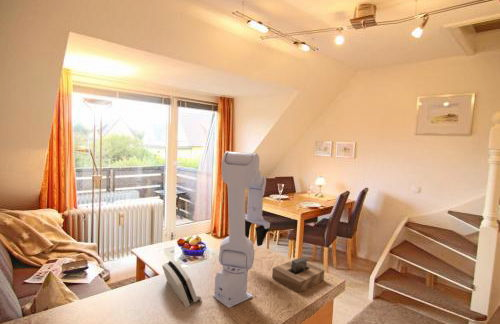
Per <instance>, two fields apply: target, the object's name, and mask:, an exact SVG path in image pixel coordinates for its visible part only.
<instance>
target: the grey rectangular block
mask: <svg viewBox="0 0 500 324" xmlns="http://www.w3.org/2000/svg"><path fill="white" fill-rule="evenodd" d="M307 259H308V258H306V257H305V256H301V257H299V258H296V259H293V261H292V260H291V261H292V266H291V273H293V274H295V275H297V274H299V273H301V272H303V271H305V270H306V264H307V263H308V262H307V261H308V260H307Z"/></svg>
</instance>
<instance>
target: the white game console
mask: <svg viewBox="0 0 500 324" xmlns="http://www.w3.org/2000/svg"><path fill="white" fill-rule="evenodd" d="M161 267H162V270H163V273H164V276H165V279H166V281H167V283H168V284H169V286H170V287H171V289H172V290H173V291H174V292H175V294H176V296H177V297H178V298H179V299H180V301H181V302H182V304H184V306H185V308H187V307H190V306H191V305H190V304H192V303H196V302H197V301H199V303H203V300H202V297H201V295H200V294H199V293H198V292H197V291H196V290H195V288H194V286H193V283H192V281H191V279H190V277H189V276H188V274H187V272H186V271H185V269H184V268H183V267H182V265H181V264H179V263H178V262H177V261H176V260H175V259H171V260H170V259H169V261H168V262H165V263H163V264H162V266H161Z"/></svg>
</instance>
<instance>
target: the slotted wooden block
mask: <svg viewBox="0 0 500 324" xmlns="http://www.w3.org/2000/svg"><path fill="white" fill-rule="evenodd" d="M293 260H294V259H293ZM293 260H290V261H287V262H284V263H281V264H280V265H277V266H275V267H272V273H271V274H272V275H271V278H272V279H274V280H275V281H278V282H279V283H281V284H283V285H284V286H287V287H288V288H290V289H292V290H294V291H296V292H297V293H302V292H303V291H306V290H307V289H309V288H311V287H314V286H315V285H317V284H319V283H321V282H323V281H324V279H325V269H322V268H320V267H318V266H316V265H313V264H311V263H309V262H307V264H306V270H305V271H303V272H301V273H299V274H297V275H295V274H293V273H291V266H292V261H293Z"/></svg>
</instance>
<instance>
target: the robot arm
mask: <svg viewBox="0 0 500 324" xmlns="http://www.w3.org/2000/svg"><path fill="white" fill-rule="evenodd" d="M259 168H260V156H259V154H258V153H257V152H252V153H251V152H244V151H243V152H241V151H240V152H239V151H229V150H226V151H225V152H224V154H223V155H222V160H221V178H222V182H223V183H224V184H226V187H227V204H228V205H227V206H228V207H227V208H228V236H226V237H225V238H223V239H222V241H221V243H220V246H219V254H218V262H219V264H220V266H222V269H221V270H220V271H219V272H217V273H216V275H215V279H214V293H213V294H212V297H214V298H215V299H216V300H218V302H220V303H221V304H223V305H224V306H225V307H227V308H229V309H230V308H232V307H234V306H236V305H238V304H241V303H243V302H245V301H247V300H250V299H252V298H253V294H251V293H249V292H248V291H247V290H248V277H249V276H248V275H249V270H251V269H252V268H253V266H254V263H255V262H254V261H255V253H256V252H255V249H254V242H253V241H252V240H251V239H250V230H251V226H252V224H254V225H257V226H255V228H254V229H255V234H256V246H258V247H261V246H262V245H263V244H264V240H265V238H266V236H267V234H268V233H269V231H270V227H271V222H269V221H267V220H265V219H264V216H263V208H264V195H265V191H266V186H267V177H265V176H264V175H262V174H261V171H260V169H259ZM246 189H247V190H248V191H247V192H248V193H247V206H246ZM246 209H247V210H246Z"/></svg>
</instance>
